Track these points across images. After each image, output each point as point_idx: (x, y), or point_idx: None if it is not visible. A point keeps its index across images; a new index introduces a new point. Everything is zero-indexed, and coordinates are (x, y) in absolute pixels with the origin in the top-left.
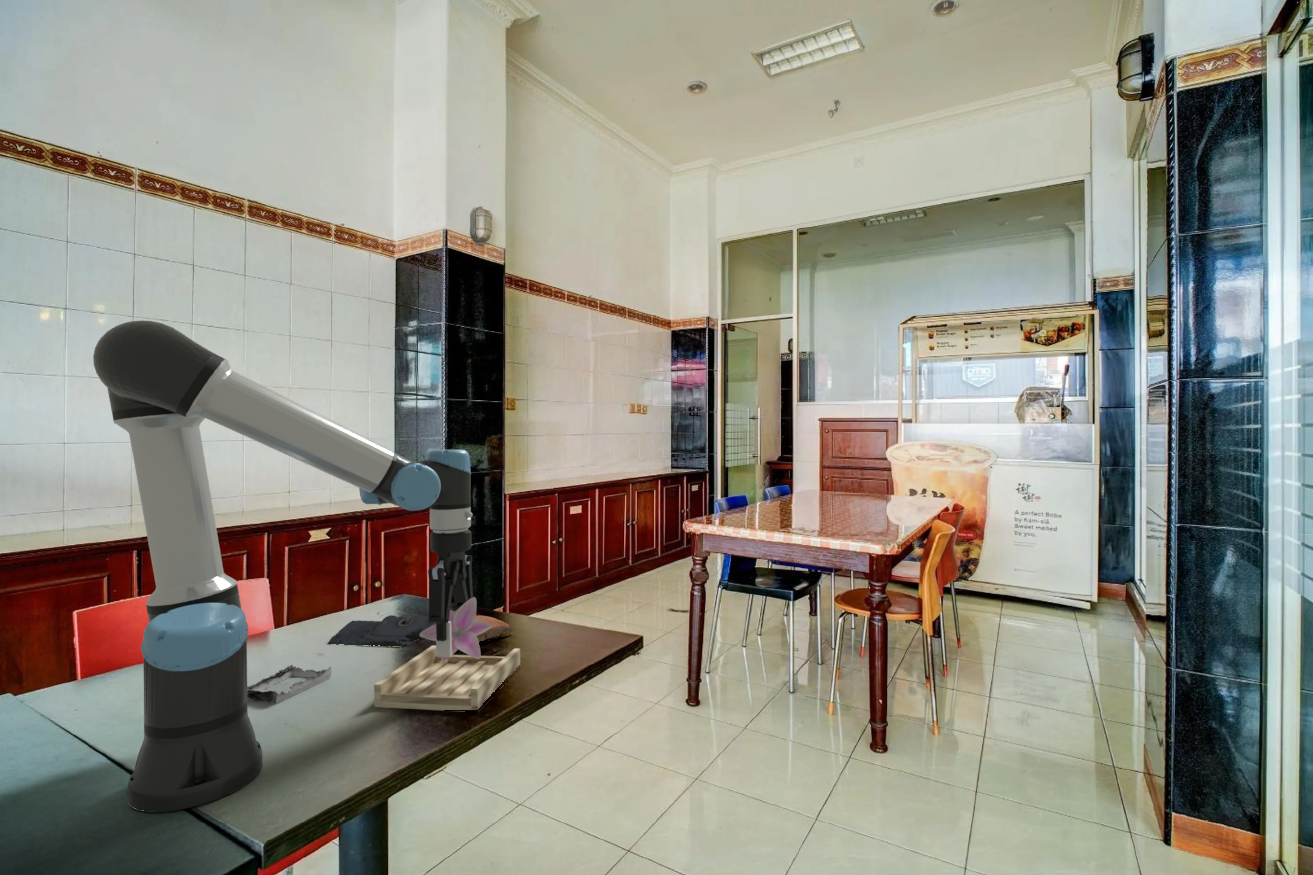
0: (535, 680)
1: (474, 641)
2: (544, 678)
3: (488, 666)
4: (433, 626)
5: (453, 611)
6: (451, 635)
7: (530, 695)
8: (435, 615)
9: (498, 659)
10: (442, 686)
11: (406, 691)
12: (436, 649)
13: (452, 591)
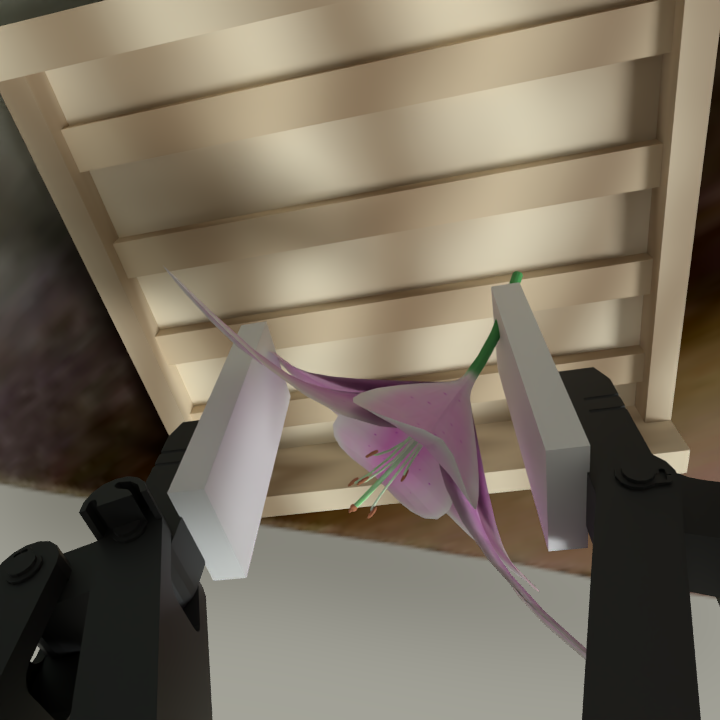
0: (515, 503)
1: (405, 498)
2: (539, 520)
3: (600, 317)
4: (268, 363)
5: (472, 506)
6: (266, 488)
7: (386, 535)
8: (99, 579)
9: (648, 357)
10: (305, 258)
11: (141, 157)
12: (231, 352)
13: (585, 701)
